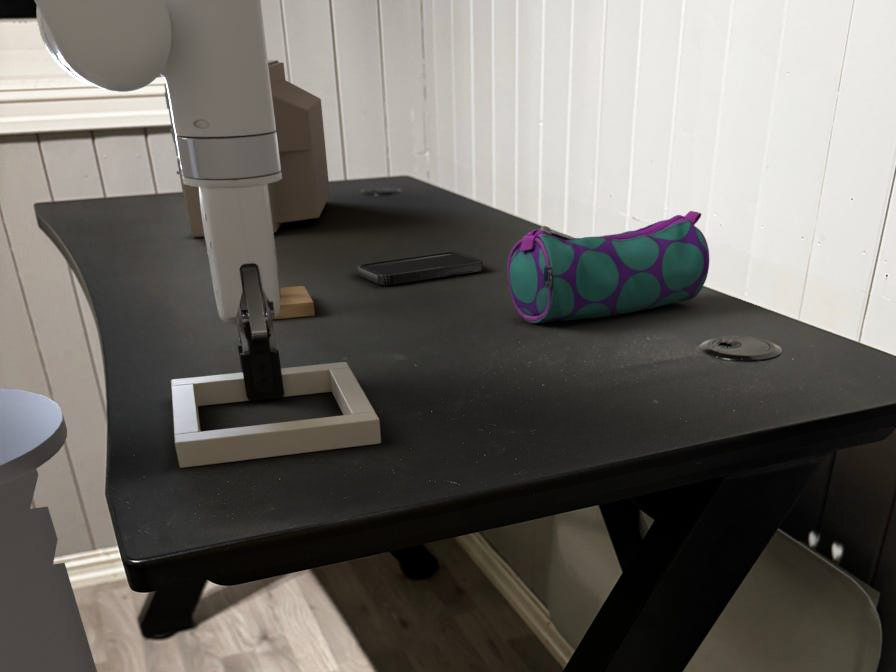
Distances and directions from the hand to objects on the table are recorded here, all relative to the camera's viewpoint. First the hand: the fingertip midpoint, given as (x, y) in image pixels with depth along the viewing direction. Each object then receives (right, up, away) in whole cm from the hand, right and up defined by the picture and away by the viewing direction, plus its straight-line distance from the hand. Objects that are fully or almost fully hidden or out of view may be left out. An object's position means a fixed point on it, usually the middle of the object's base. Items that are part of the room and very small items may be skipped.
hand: (264, 392), depth 82 cm
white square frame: (+2, -4, -5) cm, 7 cm away
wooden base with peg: (-4, +16, +25) cm, 30 cm away
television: (-17, +50, +76) cm, 93 cm away
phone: (+11, +26, +39) cm, 48 cm away
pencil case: (+33, +14, +21) cm, 42 cm away
